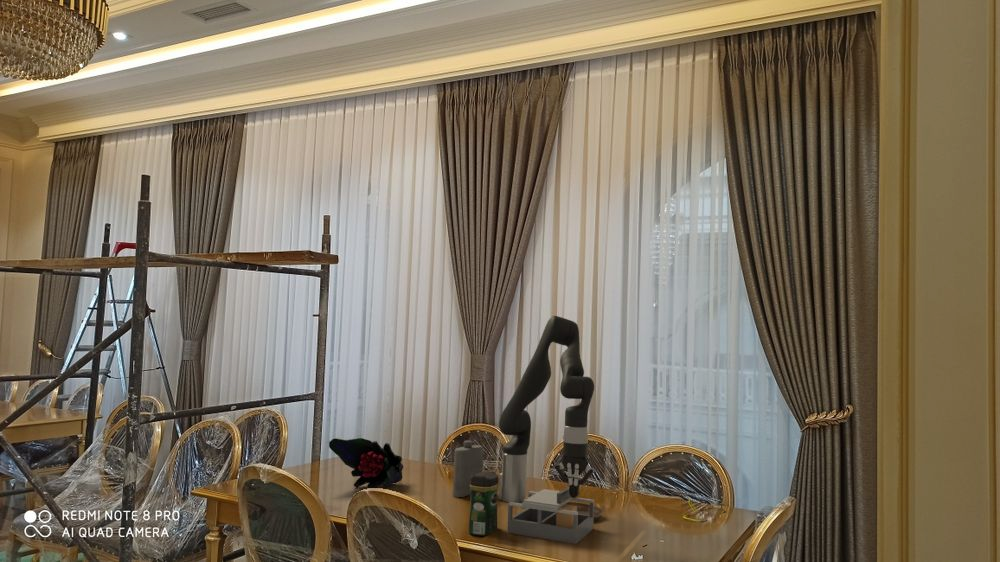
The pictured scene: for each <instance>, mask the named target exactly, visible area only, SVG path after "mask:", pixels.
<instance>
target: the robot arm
mask: <svg viewBox="0 0 1000 562" xmlns="http://www.w3.org/2000/svg"><path fill="white" fill-rule="evenodd" d="M579 329H580V328H579V326H578V324H577V322H575V321H573V320H570V319H569V318H568V319H567V318H564V317H561V316H559V315H558V316H557V315H552V316H551V317H550V318H549V319H548V320H547V322H546V324H545V327H544V329H543V332H542V334H541V337H540V339H539V342H538V344H537V346H536V349H535V351H534V353H533V356H532V358H531V359H530V361H529V363H528V365H527V367H526V368H525V370H524V372H523V375H522V377H521V379H520V382H519V384H518V385H517V387H516V389H515V391H514V392H513V395H512V397H511V398H510V400H509V401H508V403H507V405H506V406H505V408H504V409H503V411H502V413H501V414H500V417H499V420H498V427H499V431H500V433H501V434H503V435H506V436H511V437H512V438H510V440H509V441H508V442H506V443H504V444H503V446H502V467H501V470H502V471H501V473H499V486H498V490H499V491H498V500H500V501H503V502H506V503H509V502H514V503H522V502H524V500H525V499H527V470H528V468H527V467H528V449H529V447H530V442H531V441H530V440H531V431H532V430H531V429H532V420H531V416H530V413H529V412H528V411H527V410H525V409H526V408H527V407H528V406H529V405H530V404H531V403H532V402H533V401H535V400H536V399H537V398H538V397H539V396H540V395H541V394H542V393H543V392H544V391H545V389H546V387H547V386H548V383H549V381H550V380H551V376H552V367H551V363H550V357H549V351H550V346H551V344H552V343H554V344H557V345H561V346H566V349H565V350H564V351H563V352H562V354H561V355H560V358H559V359H560V360H559V364H560V369H561V374H562V377H561V381H560V386H559V388H560V389H559V391H560V394H561V396H562V397H563V398H566V399H568V400H573V399H575V400H580V402H579V403H577V404H575V405H570V406H568V407H566V408H565V411H564V427H563V428H564V429H563V436H562V439H563V443H562V444H563V446H562V449H563V451H562V458H561V462H560V463H558V464H556V465H554V469H555V470H556V472H557V473H558V475H559V477H560V478H561V479H562V481H563V483H566V484H568V486H569V495H571V498H578V497H579V495H580V486H582V485H584V484H586V482H587V481H588V480H589V479H590V477H592V475H593V474H594V473H595V471H596V469H595V468H594V467H592V466H591V465H589V464H590V463H589V460H588V449H589V448H588V446H589V445H588V444H589V441H588V440H589V438H588V437H589V431H588V422H589V421H588V418H589V417H588V415H589V409H590V404H591V400H592V398H593V395H594V392H595V382H594V381H593V379H592V378H591V377H589V376H584V375H585V370H584V366H583V363H582V358H581V354H580V353H581V351H580V348H581V347H580V345H581V343H580V331H579ZM564 469H565V470H564ZM584 471H585V475H584V476H583V477H582V474H583V473H584ZM566 472H567V473H566Z"/></svg>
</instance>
